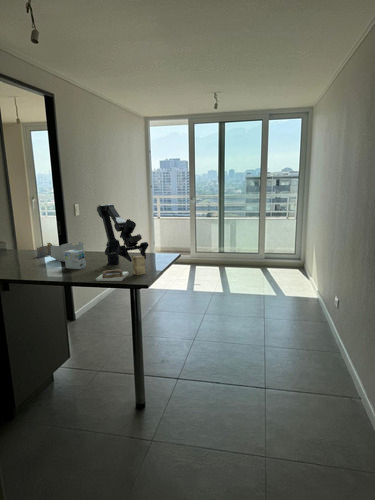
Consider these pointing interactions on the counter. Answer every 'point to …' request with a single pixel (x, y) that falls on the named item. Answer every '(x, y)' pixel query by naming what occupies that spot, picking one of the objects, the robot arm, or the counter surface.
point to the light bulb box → (75, 259)
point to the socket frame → (112, 273)
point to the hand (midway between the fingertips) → (138, 260)
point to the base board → (112, 278)
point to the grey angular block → (58, 251)
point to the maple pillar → (138, 265)
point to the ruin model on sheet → (44, 250)
